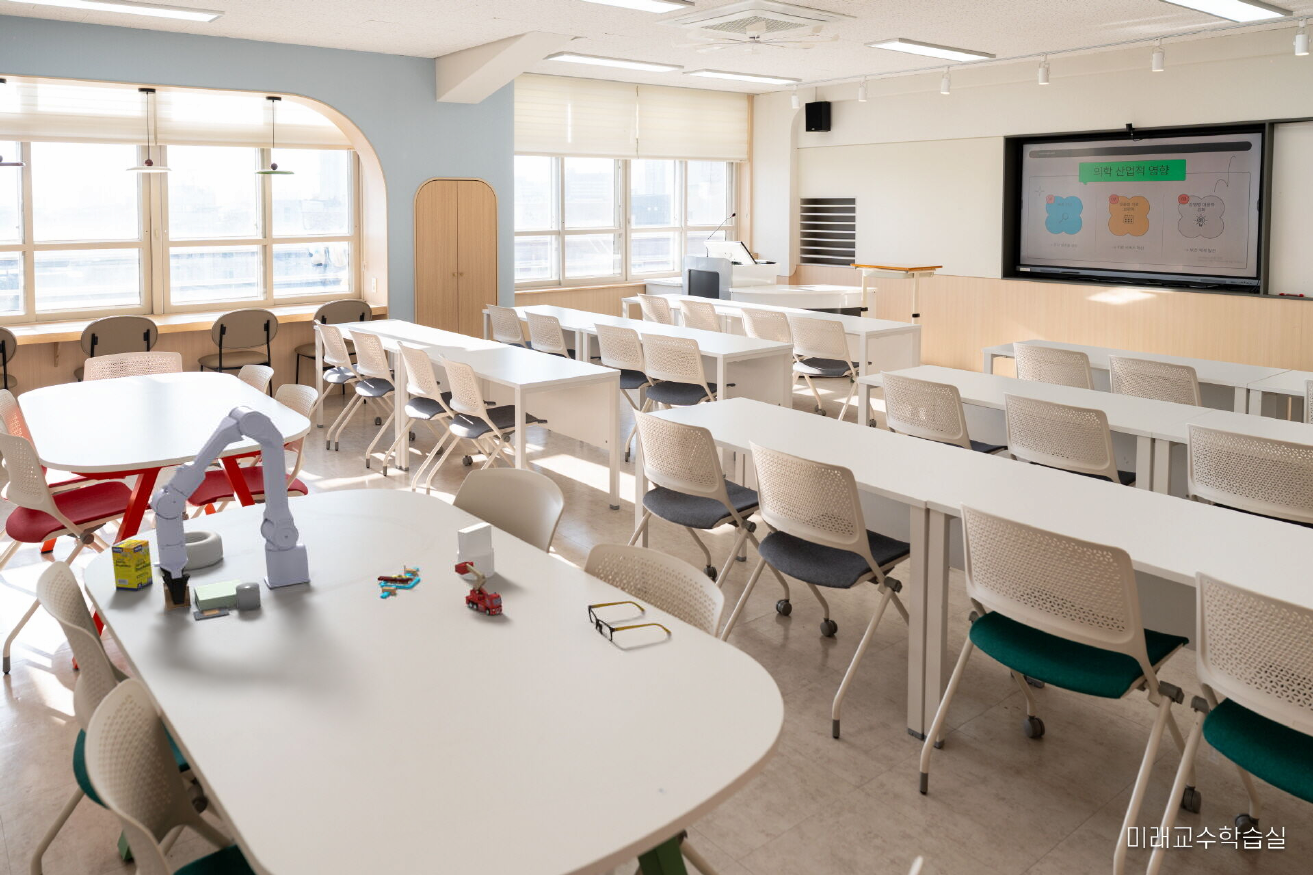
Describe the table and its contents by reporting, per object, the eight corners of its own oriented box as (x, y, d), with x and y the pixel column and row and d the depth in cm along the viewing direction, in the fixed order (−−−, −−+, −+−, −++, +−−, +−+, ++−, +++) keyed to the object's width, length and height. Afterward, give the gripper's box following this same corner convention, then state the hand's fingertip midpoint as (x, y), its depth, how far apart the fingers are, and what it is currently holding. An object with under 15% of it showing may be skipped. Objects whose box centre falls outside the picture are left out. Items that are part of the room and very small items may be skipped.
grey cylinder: (260, 601, 240) (258, 581, 239) (261, 609, 236) (259, 588, 235) (237, 604, 238) (235, 584, 237) (238, 612, 234) (236, 591, 233)
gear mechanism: (361, 598, 244) (398, 601, 242) (359, 577, 242) (397, 579, 241) (396, 570, 263) (431, 572, 261) (395, 550, 262) (430, 551, 260)
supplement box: (137, 591, 247) (132, 547, 245) (115, 589, 248) (110, 546, 246) (154, 582, 253) (149, 540, 250) (132, 581, 254) (127, 538, 251)
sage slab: (240, 591, 248) (239, 579, 248) (247, 604, 240) (246, 592, 239) (195, 598, 243) (193, 586, 243) (200, 612, 235) (199, 600, 234)
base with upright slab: (476, 565, 265) (474, 520, 262) (502, 572, 260) (500, 526, 257) (450, 575, 258) (448, 528, 255) (476, 582, 253) (474, 535, 250)
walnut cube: (188, 599, 242) (186, 579, 241) (191, 606, 238) (188, 585, 237) (165, 603, 240) (163, 582, 239) (167, 610, 236) (164, 589, 234)
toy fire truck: (492, 617, 231) (491, 576, 229) (455, 601, 240) (454, 562, 238) (504, 613, 233) (503, 572, 231) (467, 598, 242) (465, 558, 240)
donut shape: (147, 570, 262) (144, 544, 261) (183, 551, 277) (180, 527, 275) (201, 573, 260) (199, 547, 258) (235, 554, 274) (232, 529, 273)
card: (226, 607, 237) (226, 605, 237) (229, 614, 233) (229, 612, 233) (193, 612, 234) (193, 611, 234) (195, 620, 229) (195, 618, 229)
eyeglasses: (584, 621, 229) (584, 604, 228) (644, 611, 235) (644, 595, 234) (608, 646, 217) (608, 628, 216) (670, 634, 222) (671, 617, 222)
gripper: (149, 536, 240) (155, 591, 243) (154, 553, 228) (160, 612, 230) (182, 531, 243) (188, 586, 246) (189, 548, 231) (195, 606, 234)
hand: (177, 598), depth 239 cm, fingers open, 7 cm apart
